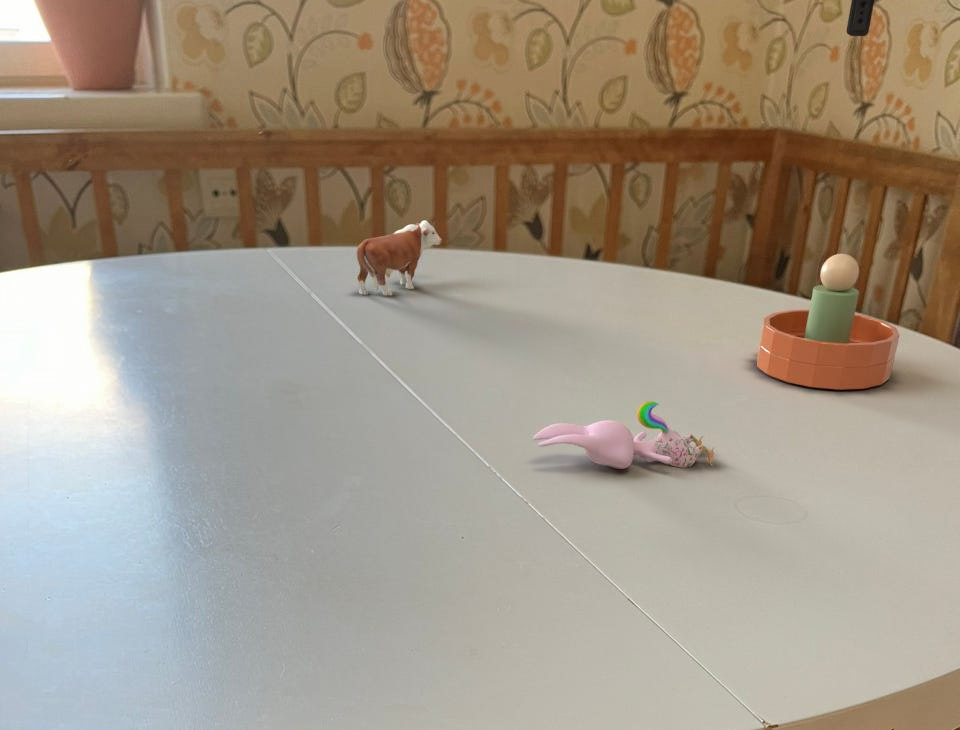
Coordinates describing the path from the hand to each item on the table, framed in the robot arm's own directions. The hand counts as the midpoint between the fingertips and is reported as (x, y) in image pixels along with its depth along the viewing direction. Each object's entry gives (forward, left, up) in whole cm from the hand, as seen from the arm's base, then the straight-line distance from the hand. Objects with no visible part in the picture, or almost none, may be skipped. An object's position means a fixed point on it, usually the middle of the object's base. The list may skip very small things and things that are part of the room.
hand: (856, 35), depth 121 cm
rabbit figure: (+41, +53, -30) cm, 73 cm away
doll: (+13, +31, -29) cm, 44 cm away
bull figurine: (+53, -8, -30) cm, 61 cm away
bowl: (+13, +31, -30) cm, 45 cm away
